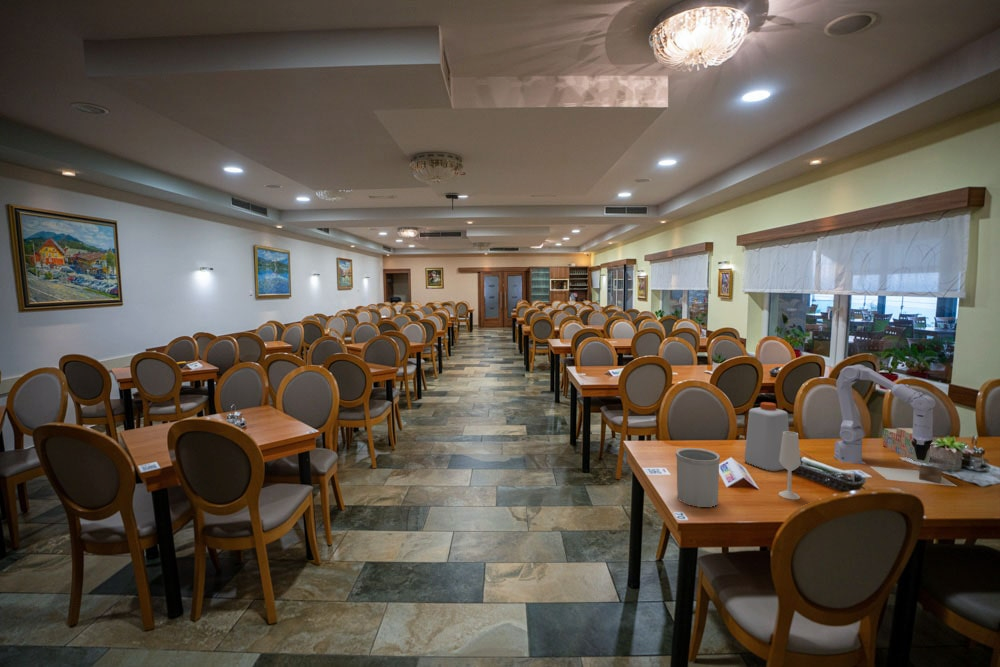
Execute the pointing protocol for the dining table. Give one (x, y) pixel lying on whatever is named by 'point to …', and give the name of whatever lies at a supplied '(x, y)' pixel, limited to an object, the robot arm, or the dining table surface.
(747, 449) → the plastic bottle
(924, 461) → the green block
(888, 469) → the white flat sheet
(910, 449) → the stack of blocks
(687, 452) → the utensil holder
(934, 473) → the walnut base block
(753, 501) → the dining table surface
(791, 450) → the champagne flute
